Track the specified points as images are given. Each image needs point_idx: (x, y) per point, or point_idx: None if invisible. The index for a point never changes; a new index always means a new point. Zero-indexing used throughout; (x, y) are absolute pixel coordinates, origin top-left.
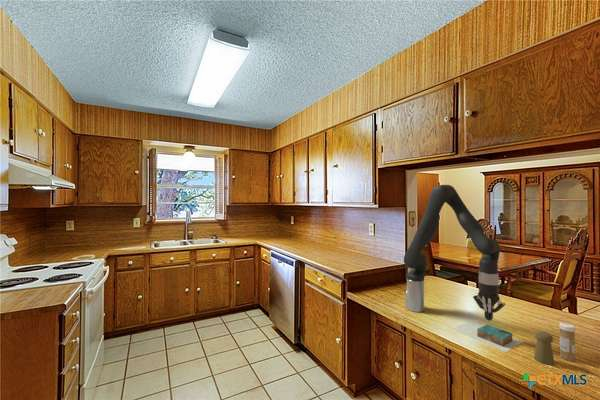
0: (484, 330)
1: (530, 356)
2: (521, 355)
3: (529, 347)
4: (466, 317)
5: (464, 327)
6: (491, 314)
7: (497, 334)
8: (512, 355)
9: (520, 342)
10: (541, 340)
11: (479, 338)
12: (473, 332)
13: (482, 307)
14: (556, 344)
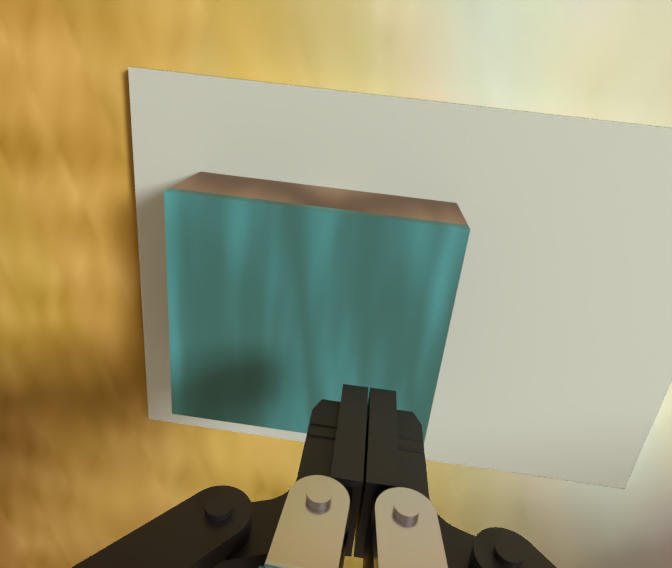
0: (386, 248)
1: (5, 203)
2: (47, 155)
3: (92, 367)
4: (665, 563)
5: (632, 315)
6: (300, 470)
7: (244, 258)
8: (82, 77)
9: (153, 388)
10: None
11: (422, 165)
12: (517, 266)
13: (476, 560)
14: (33, 541)
